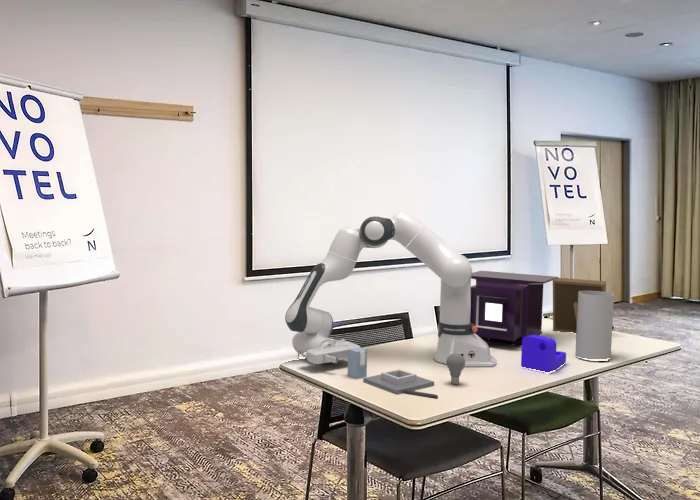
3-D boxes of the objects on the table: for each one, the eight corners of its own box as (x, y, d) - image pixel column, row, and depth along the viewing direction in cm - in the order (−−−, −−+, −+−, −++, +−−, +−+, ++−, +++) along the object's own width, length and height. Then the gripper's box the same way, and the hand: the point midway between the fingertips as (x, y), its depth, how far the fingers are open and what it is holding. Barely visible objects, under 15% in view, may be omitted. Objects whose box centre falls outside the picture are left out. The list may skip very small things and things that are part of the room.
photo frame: (555, 329, 289) (557, 276, 287) (605, 335, 278) (607, 280, 276) (547, 335, 276) (550, 279, 274) (599, 341, 265) (602, 283, 263)
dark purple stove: (479, 328, 288) (481, 270, 286) (555, 338, 269) (558, 276, 267) (449, 342, 258) (451, 277, 256) (532, 354, 240) (535, 285, 238)
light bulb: (443, 381, 202) (444, 351, 201) (461, 381, 202) (462, 350, 202) (448, 386, 196) (449, 355, 195) (466, 386, 196) (467, 355, 196)
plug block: (358, 373, 209) (358, 347, 208) (367, 377, 205) (368, 350, 204) (347, 375, 206) (348, 349, 205) (357, 379, 202) (357, 352, 201)
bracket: (547, 374, 212) (549, 341, 211) (520, 367, 221) (522, 335, 220) (576, 366, 224) (578, 334, 223) (550, 360, 232) (551, 329, 231)
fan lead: (402, 393, 189) (402, 389, 188) (404, 392, 189) (404, 388, 189) (437, 398, 184) (437, 395, 184) (438, 397, 185) (438, 394, 184)
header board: (399, 373, 209) (400, 364, 209) (434, 385, 197) (434, 375, 197) (363, 381, 200) (363, 372, 199) (397, 394, 187) (397, 384, 187)
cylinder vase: (617, 360, 233) (621, 294, 231) (596, 364, 227) (599, 296, 225) (589, 352, 244) (592, 290, 242) (568, 356, 238) (571, 292, 236)
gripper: (299, 345, 214) (322, 353, 203) (346, 337, 226) (370, 345, 216) (299, 363, 214) (322, 372, 203) (346, 354, 227) (370, 362, 216)
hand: (347, 358), depth 210 cm, fingers open, 8 cm apart
